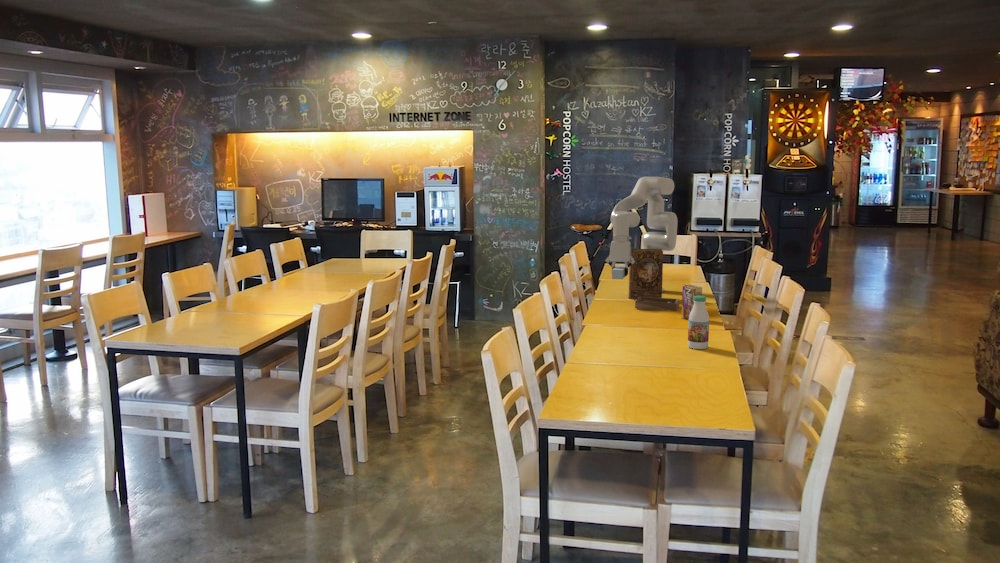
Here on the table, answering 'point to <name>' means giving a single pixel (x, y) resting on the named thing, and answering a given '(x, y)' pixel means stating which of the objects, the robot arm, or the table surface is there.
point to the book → (646, 273)
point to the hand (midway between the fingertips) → (619, 275)
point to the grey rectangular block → (618, 272)
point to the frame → (657, 303)
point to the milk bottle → (698, 324)
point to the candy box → (689, 299)
